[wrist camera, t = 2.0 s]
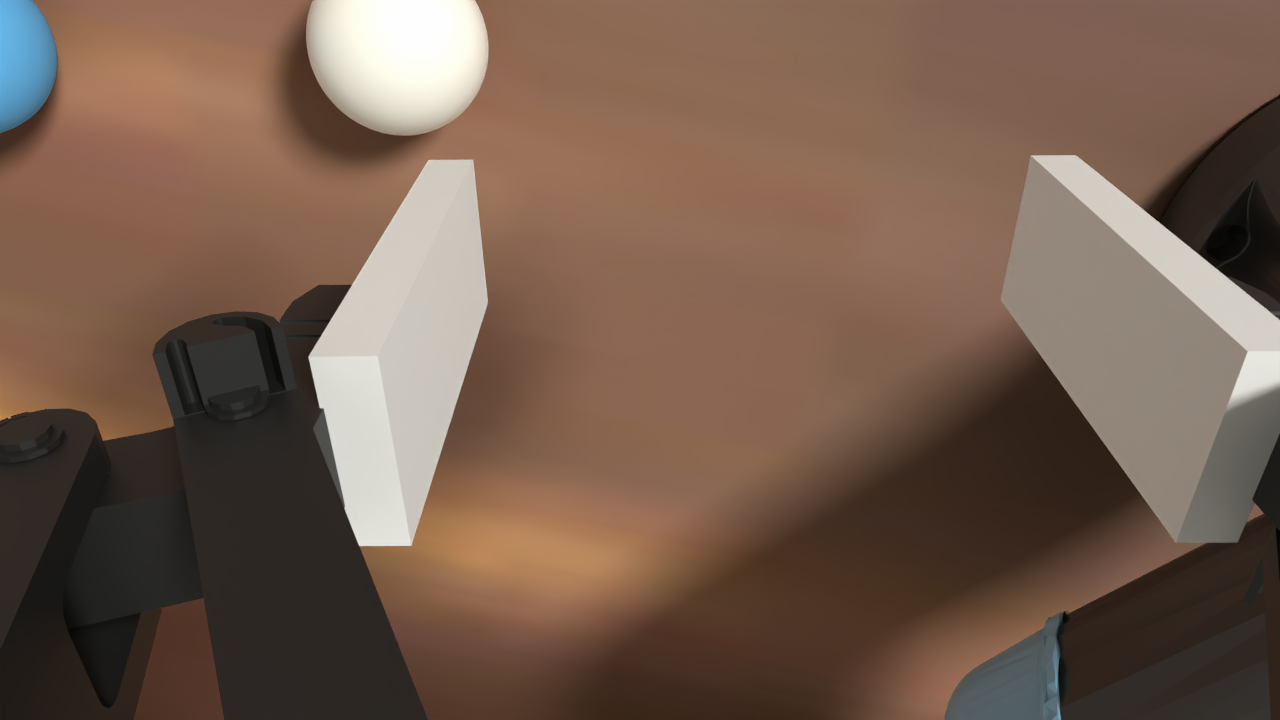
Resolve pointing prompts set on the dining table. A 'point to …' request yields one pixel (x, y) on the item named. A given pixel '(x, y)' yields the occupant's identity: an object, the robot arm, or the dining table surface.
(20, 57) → the blue object ball
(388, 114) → the white cue ball
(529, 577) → the dining table surface
